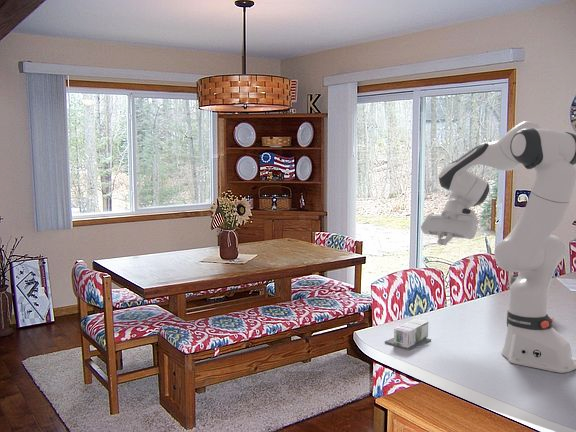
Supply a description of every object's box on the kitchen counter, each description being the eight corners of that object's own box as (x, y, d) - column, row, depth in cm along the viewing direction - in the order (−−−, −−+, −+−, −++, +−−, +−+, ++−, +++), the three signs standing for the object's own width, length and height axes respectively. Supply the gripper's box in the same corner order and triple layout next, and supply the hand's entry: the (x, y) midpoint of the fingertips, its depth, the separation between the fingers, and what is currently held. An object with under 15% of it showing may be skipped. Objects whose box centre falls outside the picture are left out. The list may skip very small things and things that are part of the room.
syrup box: (414, 318, 204) (392, 328, 193) (429, 321, 200) (408, 331, 190) (413, 333, 205) (392, 344, 194) (428, 337, 201) (408, 348, 190)
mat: (431, 340, 199) (431, 339, 199) (409, 350, 190) (409, 348, 190) (406, 334, 206) (406, 332, 206) (384, 343, 197) (384, 341, 197)
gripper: (426, 207, 221) (412, 235, 215) (477, 211, 207) (465, 241, 201) (431, 217, 225) (418, 246, 218) (482, 222, 211) (470, 252, 205)
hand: (441, 244), depth 210 cm, fingers closed
